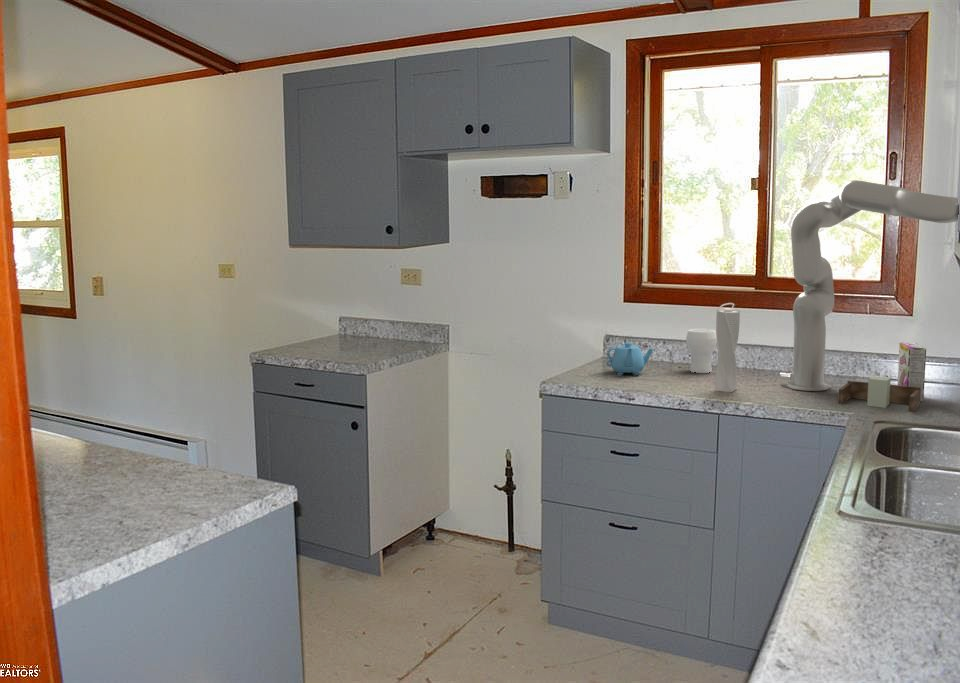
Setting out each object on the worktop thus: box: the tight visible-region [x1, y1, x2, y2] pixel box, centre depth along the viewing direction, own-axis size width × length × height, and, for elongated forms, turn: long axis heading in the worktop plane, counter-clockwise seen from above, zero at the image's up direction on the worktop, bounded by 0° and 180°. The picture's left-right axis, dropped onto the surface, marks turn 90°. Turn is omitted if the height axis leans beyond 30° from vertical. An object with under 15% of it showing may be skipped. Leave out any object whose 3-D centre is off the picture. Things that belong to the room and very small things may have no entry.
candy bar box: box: [897, 341, 927, 403], centre depth 257 cm, size 11×5×16 cm, turn 168°
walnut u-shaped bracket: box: [837, 380, 921, 413], centre depth 250 cm, size 20×12×5 cm, turn 54°
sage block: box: [866, 375, 891, 408], centre depth 249 cm, size 5×5×8 cm
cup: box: [685, 328, 717, 374], centre depth 305 cm, size 11×11×15 cm
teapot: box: [606, 341, 654, 376], centre depth 304 cm, size 15×14×11 cm
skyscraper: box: [714, 302, 741, 393], centre depth 272 cm, size 8×8×28 cm
